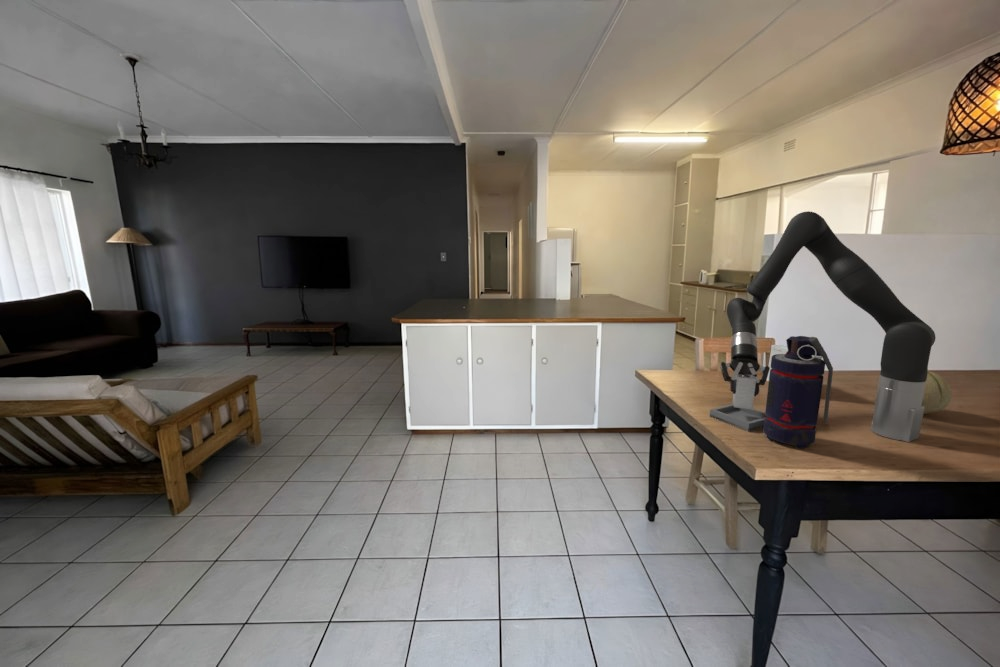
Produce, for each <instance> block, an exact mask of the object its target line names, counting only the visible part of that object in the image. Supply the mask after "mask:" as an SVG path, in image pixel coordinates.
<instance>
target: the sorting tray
mask: <svg viewBox="0 0 1000 667" xmlns="http://www.w3.org/2000/svg"><path fill="white" fill-rule="evenodd" d="M765 416H766V415H765V412H764V411H761V410H759V409H756V408H753V410H751V409H744V408H736V407H734V405H733V403H731V404H727V405H722V406H718V407H714V408H711V409H709V418H712V417H713V418H712V419H715V418H716V419H715V420H717V419H718V421H720V422H722V421H723V422H722V423H725V424H728V425H730V424H731V425H730V426H733V425H734V426H733V427H735V426H736V428H738V427H739V428H738V429H740V428H741V430H743V429H744V431H746V430H747V431H746V432H752V431H755V430H759V429H762V428H764V421H765ZM761 427H762V428H761ZM758 428H759V429H758ZM754 429H755V430H754ZM751 430H752V431H751Z"/></svg>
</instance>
